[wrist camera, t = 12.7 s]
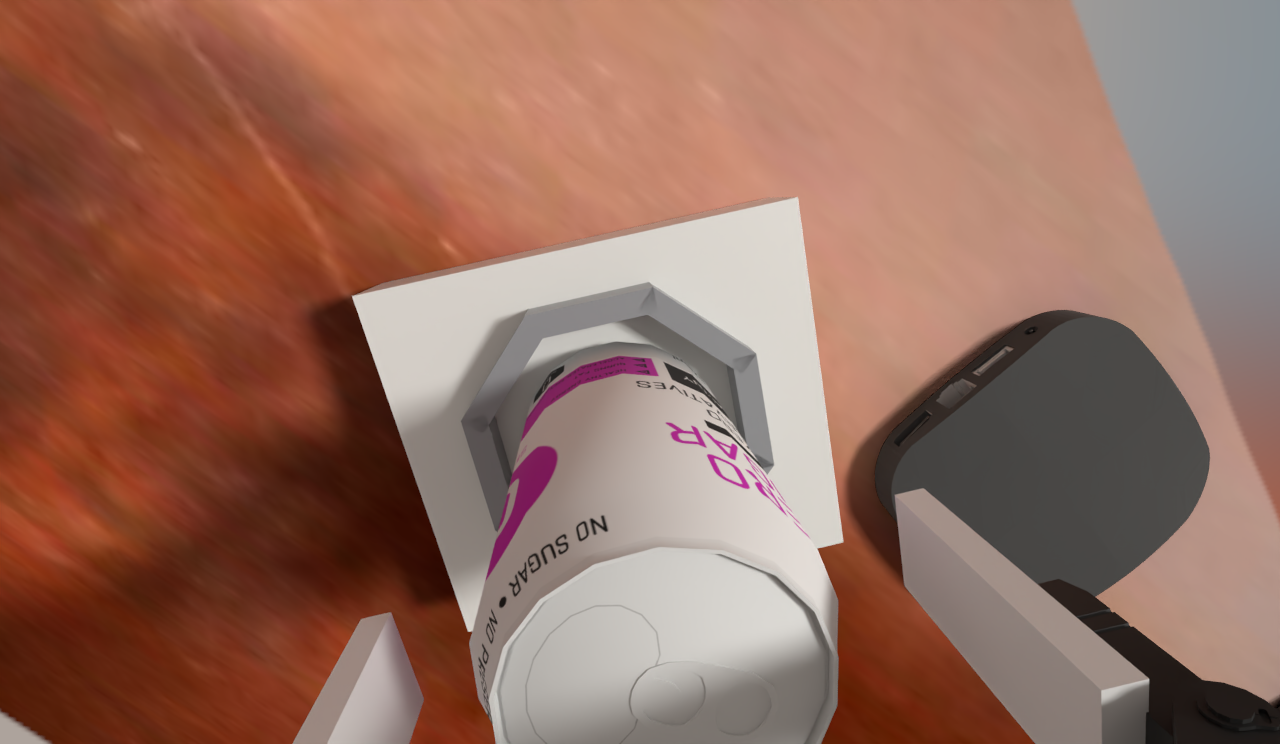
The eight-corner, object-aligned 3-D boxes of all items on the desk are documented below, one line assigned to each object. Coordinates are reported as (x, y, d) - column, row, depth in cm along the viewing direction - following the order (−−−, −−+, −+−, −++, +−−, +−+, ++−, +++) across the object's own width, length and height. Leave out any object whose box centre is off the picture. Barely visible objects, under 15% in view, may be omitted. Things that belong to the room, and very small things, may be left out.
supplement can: (506, 495, 27) (420, 834, 13) (553, 314, 25) (513, 471, 11) (682, 533, 28) (787, 880, 14) (739, 364, 26) (930, 563, 12)
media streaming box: (986, 625, 37) (1020, 661, 34) (842, 463, 33) (867, 488, 30) (1193, 466, 35) (1248, 490, 32) (1066, 276, 31) (1115, 284, 28)
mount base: (768, 197, 28) (811, 196, 23) (812, 502, 33) (857, 560, 28) (383, 282, 28) (337, 302, 23) (481, 580, 32) (462, 654, 27)
